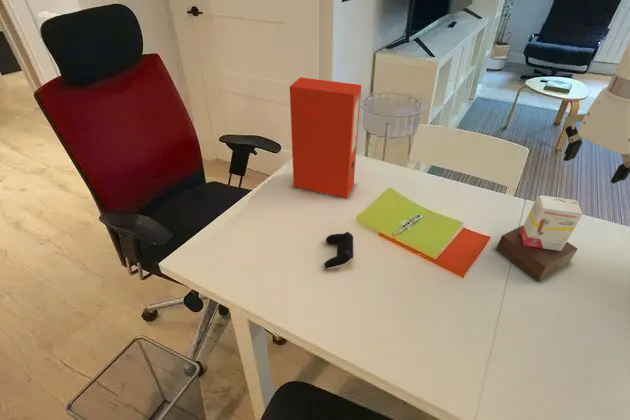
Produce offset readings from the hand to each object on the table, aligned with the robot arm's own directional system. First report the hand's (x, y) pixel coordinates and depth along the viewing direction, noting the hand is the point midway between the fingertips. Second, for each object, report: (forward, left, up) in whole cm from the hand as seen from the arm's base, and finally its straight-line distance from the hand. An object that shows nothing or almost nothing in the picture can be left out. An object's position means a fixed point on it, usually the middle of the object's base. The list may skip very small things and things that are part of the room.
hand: (591, 169), depth 76 cm
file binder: (+32, -54, -27) cm, 68 cm away
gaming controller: (+44, -26, -27) cm, 57 cm away
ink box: (+2, -2, -22) cm, 22 cm away
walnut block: (+2, -2, -26) cm, 26 cm away
